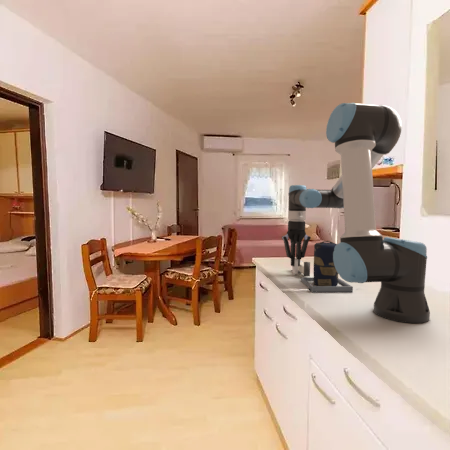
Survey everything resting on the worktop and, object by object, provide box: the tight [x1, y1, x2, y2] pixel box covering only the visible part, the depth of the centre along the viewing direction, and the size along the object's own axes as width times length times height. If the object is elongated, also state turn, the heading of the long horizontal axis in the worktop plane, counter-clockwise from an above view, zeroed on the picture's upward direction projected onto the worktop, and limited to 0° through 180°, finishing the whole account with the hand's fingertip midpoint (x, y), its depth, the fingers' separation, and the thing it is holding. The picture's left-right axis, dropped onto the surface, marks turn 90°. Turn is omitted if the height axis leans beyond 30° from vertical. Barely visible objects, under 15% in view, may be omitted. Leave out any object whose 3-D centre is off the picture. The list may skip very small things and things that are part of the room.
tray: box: [300, 277, 354, 294], centre depth 131 cm, size 15×16×2 cm
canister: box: [312, 240, 339, 286], centre depth 130 cm, size 10×10×18 cm
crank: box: [298, 260, 311, 277], centre depth 148 cm, size 16×4×7 cm, turn 3°
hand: (295, 273), depth 147 cm, fingers closed
